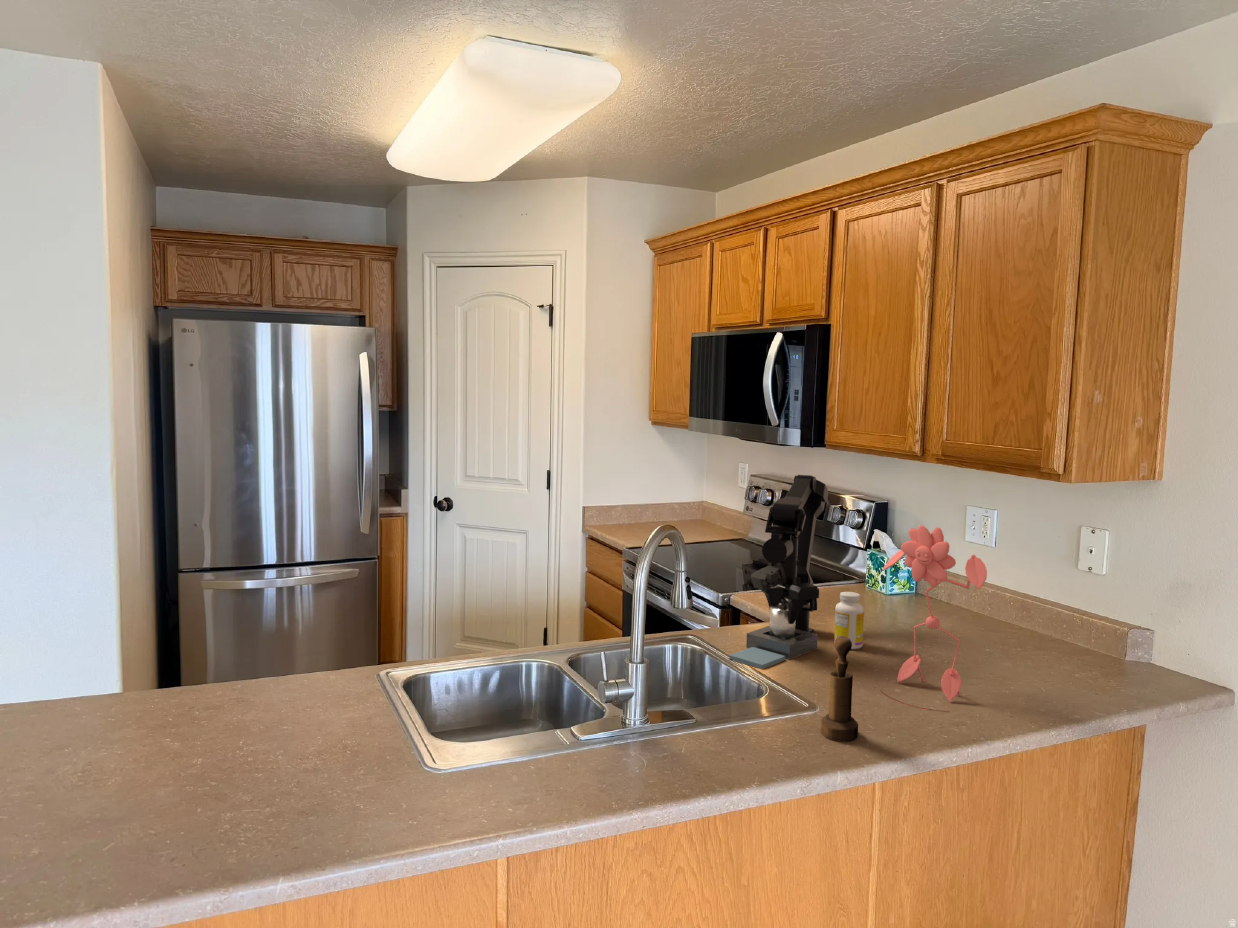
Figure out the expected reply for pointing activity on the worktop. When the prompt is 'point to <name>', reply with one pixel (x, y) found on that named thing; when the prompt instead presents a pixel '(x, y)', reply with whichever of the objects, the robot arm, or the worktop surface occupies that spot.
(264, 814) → the worktop surface
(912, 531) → the figurine
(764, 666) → the mat
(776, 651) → the frame
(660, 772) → the worktop surface
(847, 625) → the supplement bottle
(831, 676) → the mortar and pestle
